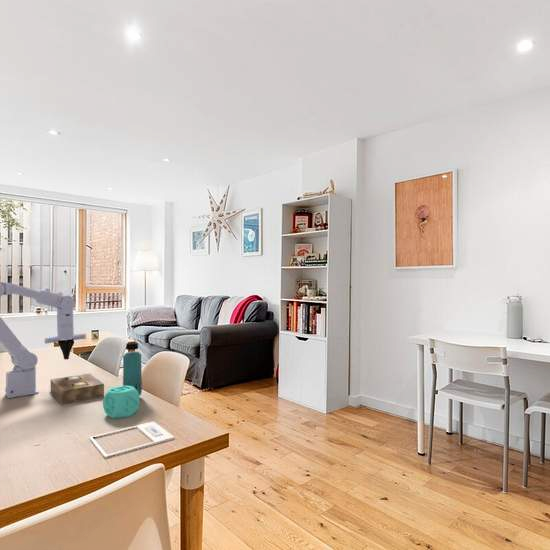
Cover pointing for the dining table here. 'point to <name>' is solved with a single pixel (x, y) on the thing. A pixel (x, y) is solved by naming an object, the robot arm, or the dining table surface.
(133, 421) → the dining table surface
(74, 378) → the sage peg
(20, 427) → the dining table surface
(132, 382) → the beverage bottle
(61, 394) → the peg block
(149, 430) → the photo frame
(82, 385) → the mustard peg
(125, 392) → the decorative dice
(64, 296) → the robot arm
